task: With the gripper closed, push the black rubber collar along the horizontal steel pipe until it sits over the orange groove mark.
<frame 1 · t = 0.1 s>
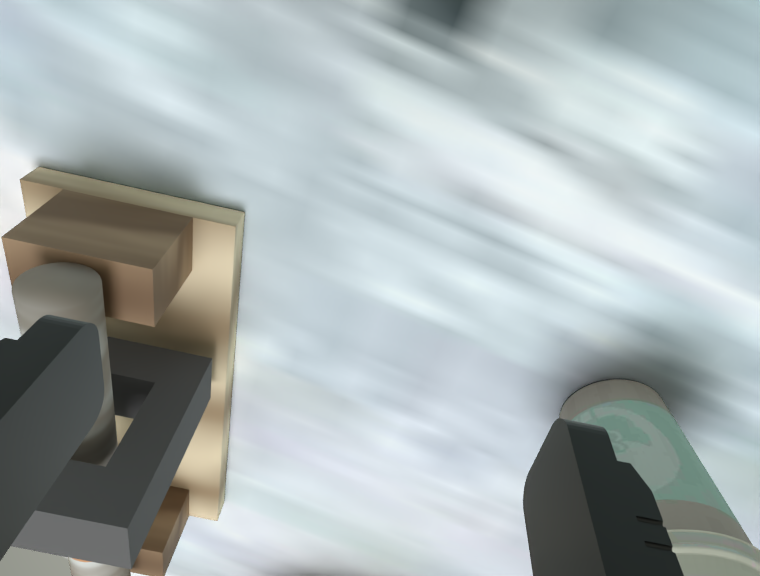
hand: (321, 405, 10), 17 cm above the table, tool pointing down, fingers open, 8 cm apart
collar: (80, 431, 27), point 8 cm above the table, slide at -3.0 cm
pipe rig: (150, 368, 34), on the table
coffee cup: (609, 412, 33), on the table
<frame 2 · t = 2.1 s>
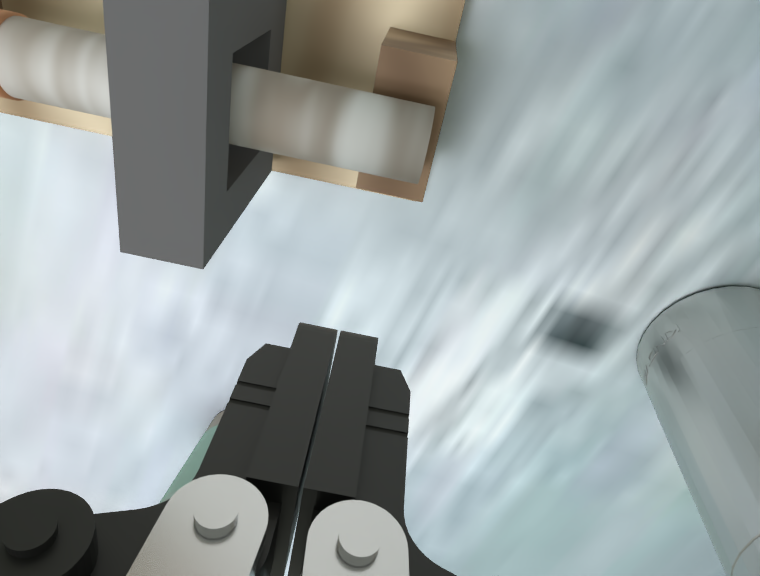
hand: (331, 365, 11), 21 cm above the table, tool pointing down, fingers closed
collar: (211, 99, 22), point 7 cm above the table, slide at -3.0 cm
pipe rig: (203, 47, 28), on the table
coffee cup: (249, 432, 43), on the table
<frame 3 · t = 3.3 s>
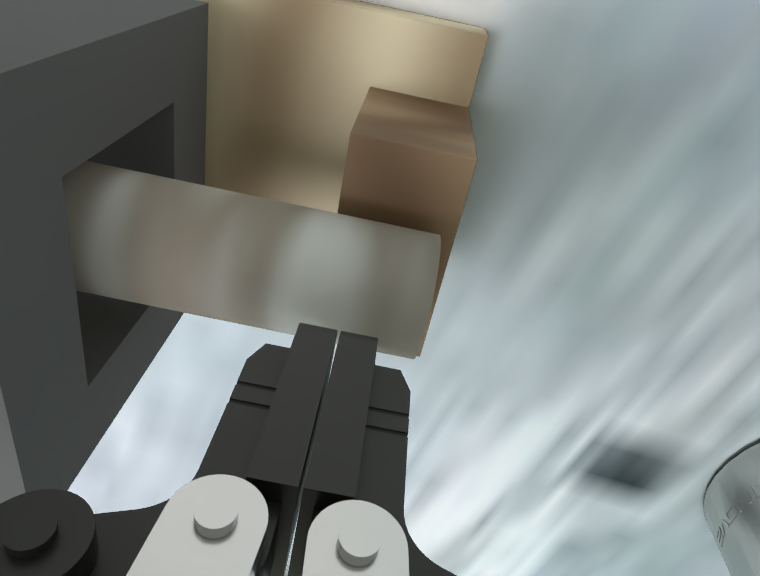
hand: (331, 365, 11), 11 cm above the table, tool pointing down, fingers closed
collar: (69, 223, 13), point 8 cm above the table, slide at -3.0 cm
pipe rig: (101, 109, 20), on the table
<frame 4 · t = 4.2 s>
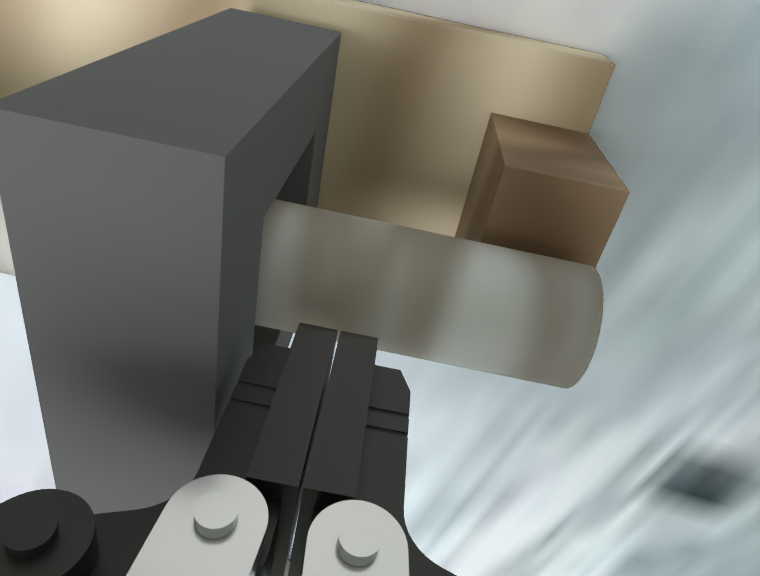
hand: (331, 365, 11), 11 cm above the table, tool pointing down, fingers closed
collar: (221, 252, 14), point 8 cm above the table, slide at -2.9 cm, touching gripper
pipe rig: (209, 131, 20), on the table
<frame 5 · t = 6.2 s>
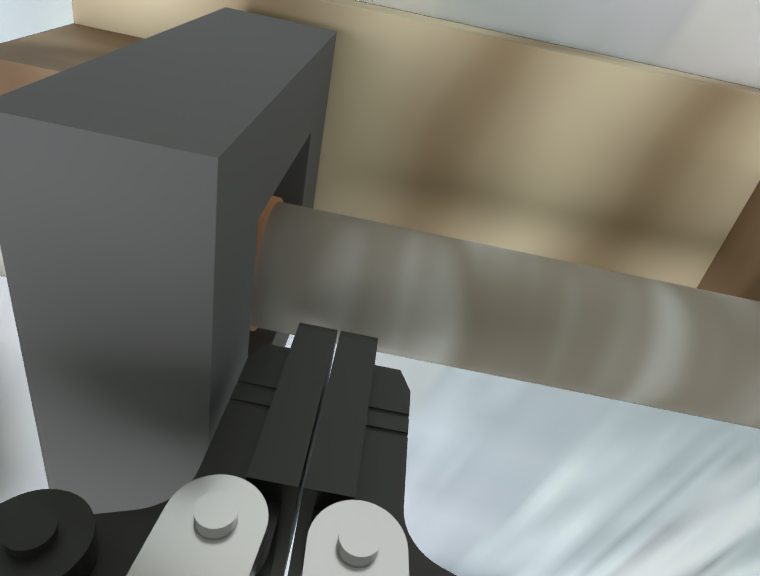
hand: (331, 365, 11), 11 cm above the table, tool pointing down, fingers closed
collar: (216, 253, 14), point 8 cm above the table, slide at 5.7 cm, touching gripper
pipe rig: (448, 182, 20), on the table
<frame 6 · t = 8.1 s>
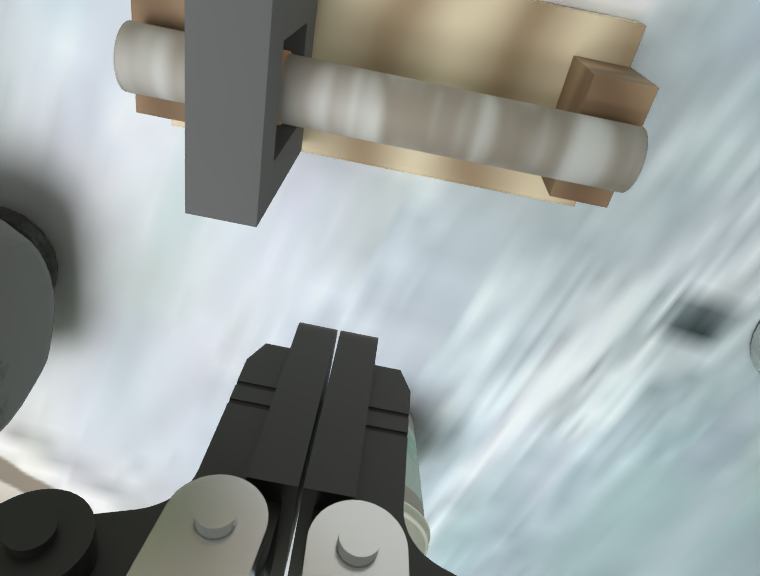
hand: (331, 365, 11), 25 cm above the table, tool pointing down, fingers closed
collar: (257, 83, 26), point 8 cm above the table, slide at 5.7 cm
pipe rig: (393, 73, 32), on the table
coffee cup: (378, 420, 47), on the table
dark grey bottle: (8, 232, 40), on the table
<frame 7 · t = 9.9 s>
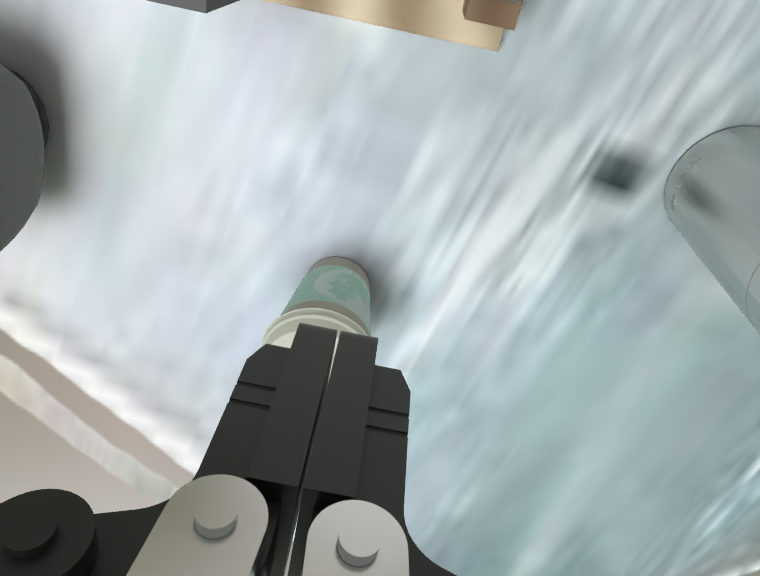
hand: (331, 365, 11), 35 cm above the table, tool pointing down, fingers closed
coffee cup: (338, 283, 52), on the table
dark grey bottle: (4, 92, 45), on the table
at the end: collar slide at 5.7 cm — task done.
